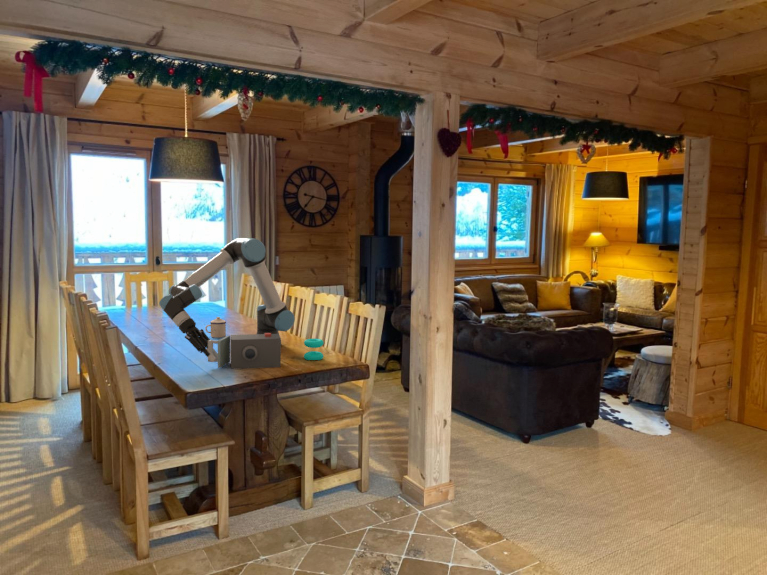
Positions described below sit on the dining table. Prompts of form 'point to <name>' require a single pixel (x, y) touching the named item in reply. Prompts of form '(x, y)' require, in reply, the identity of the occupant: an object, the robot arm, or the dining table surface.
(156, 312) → the dining table surface
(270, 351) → the camera body
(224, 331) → the teacup with lid
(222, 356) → the side door
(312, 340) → the donuts
